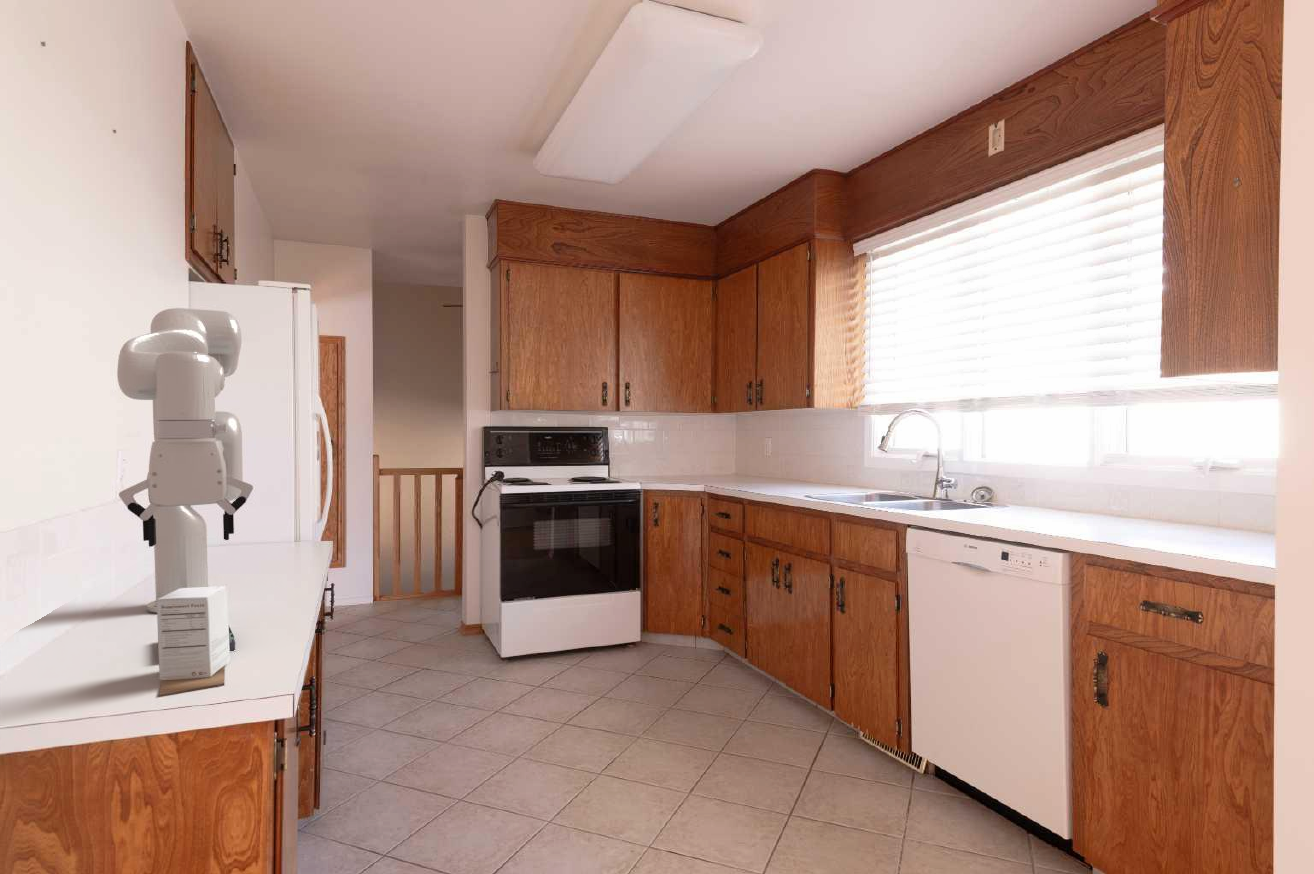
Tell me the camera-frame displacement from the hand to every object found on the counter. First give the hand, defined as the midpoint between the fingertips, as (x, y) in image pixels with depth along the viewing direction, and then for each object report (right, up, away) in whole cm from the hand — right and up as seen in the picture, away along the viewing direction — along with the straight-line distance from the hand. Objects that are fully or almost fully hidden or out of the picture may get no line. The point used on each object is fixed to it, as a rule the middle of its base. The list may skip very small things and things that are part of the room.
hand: (190, 541), depth 110 cm
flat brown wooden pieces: (-6, -21, +12) cm, 25 cm away
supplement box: (0, -21, +1) cm, 21 cm away
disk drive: (-9, -21, +15) cm, 28 cm away
